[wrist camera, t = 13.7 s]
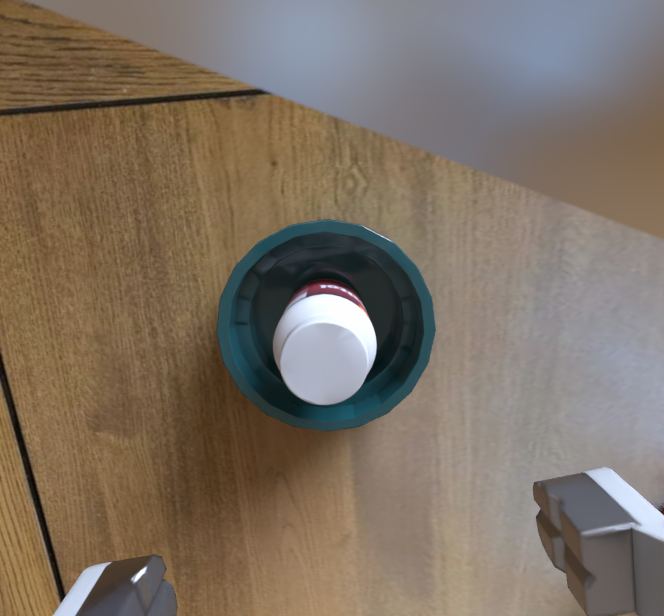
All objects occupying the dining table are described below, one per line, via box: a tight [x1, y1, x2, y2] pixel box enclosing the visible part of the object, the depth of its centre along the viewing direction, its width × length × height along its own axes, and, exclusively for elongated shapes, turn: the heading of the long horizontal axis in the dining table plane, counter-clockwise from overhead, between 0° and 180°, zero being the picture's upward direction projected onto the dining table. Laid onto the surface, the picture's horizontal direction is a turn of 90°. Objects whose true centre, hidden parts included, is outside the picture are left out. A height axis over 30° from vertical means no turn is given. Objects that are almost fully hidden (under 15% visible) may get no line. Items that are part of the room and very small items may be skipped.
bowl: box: [217, 219, 436, 431], centre depth 31 cm, size 15×15×5 cm
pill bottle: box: [273, 279, 377, 405], centre depth 27 cm, size 6×6×11 cm
